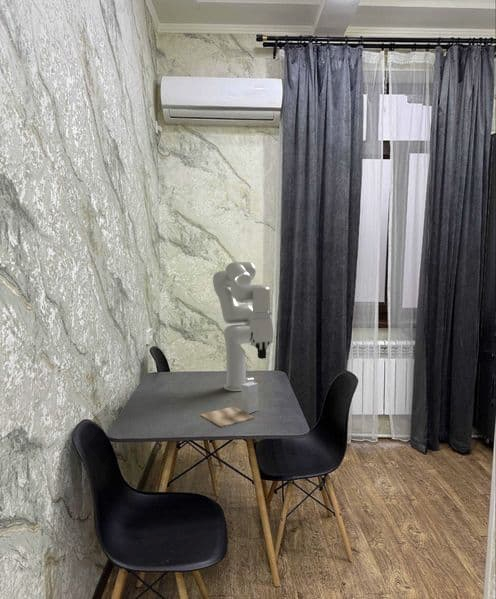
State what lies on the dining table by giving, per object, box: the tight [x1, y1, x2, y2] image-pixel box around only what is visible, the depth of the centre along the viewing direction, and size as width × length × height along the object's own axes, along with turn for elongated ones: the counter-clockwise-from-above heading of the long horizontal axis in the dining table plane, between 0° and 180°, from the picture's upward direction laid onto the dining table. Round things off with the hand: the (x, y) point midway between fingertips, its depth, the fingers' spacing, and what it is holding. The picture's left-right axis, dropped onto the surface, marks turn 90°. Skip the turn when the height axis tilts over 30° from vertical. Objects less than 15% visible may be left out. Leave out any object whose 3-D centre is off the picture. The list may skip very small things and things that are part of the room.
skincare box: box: [241, 381, 259, 415], centre depth 190 cm, size 6×4×12 cm
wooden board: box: [200, 406, 255, 428], centre depth 184 cm, size 16×16×1 cm
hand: (261, 357), depth 192 cm, fingers closed
